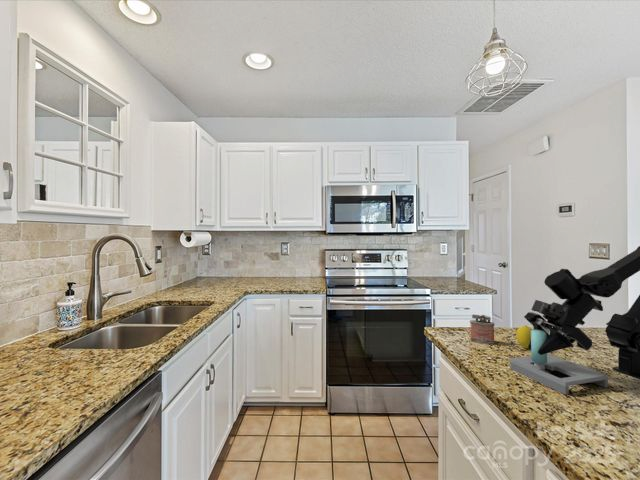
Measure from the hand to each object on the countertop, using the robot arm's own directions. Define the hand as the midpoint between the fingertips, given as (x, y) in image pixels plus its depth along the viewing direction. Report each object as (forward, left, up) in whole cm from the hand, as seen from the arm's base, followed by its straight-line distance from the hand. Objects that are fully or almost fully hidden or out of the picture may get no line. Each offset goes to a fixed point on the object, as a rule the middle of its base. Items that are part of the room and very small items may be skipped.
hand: (534, 351), depth 87 cm
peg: (-1, 0, -7) cm, 7 cm away
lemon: (-16, -17, -7) cm, 25 cm away
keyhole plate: (-4, +3, -7) cm, 8 cm away
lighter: (-7, -27, -7) cm, 29 cm away
